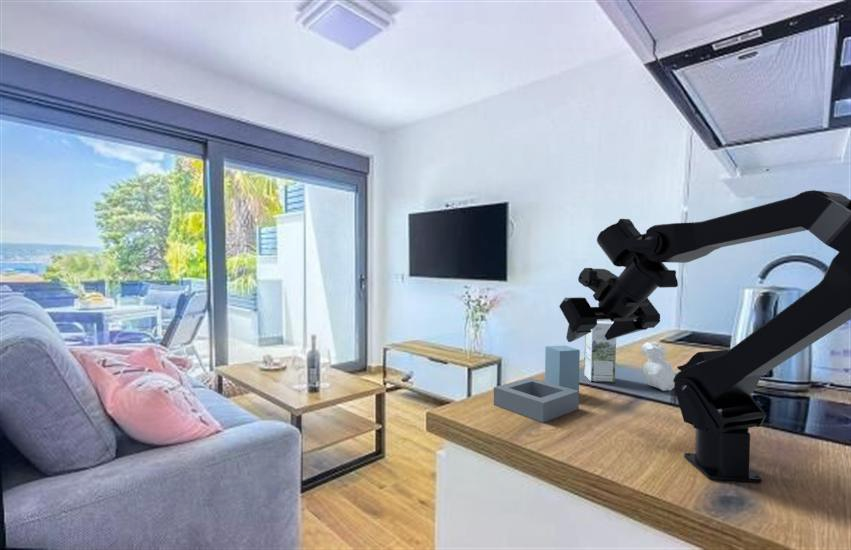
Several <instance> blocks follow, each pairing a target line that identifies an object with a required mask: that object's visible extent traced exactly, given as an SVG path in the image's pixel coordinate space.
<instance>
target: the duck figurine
mask: <svg viewBox="0 0 851 550" xmlns="http://www.w3.org/2000/svg"><path fill="white" fill-rule="evenodd" d="M640 351H641V354H642V355H643V356H647V357H648V359H647V361H646V362H645V363H643V367H642V368H643V369H642V377H643V379H644V381H645V383H646V384H647V385H648V386H650V387H654V388H657V389H660V390H661V391H663V392H664V391H669V392H671V391H672V390H673V389H675V388H674V384H675V383H674V381H673V380H674V377H675V376H676V374H675V371H674V368H673V366H672V364H671V363H670V362H669V361H668V360H666V359H665V356H666V353H667V350H666V347H663V345H660V343H657V342H656V341H652V342H648V341H646V342H645V343H644V344H643V345H642V346H641V347H640Z"/></svg>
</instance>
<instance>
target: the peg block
mask: <svg viewBox="0 0 851 550" xmlns="http://www.w3.org/2000/svg"><path fill="white" fill-rule="evenodd" d="M544 350H545V355H544V357H545V358H544V364H545V365H544V367H545V368H544V382H548V383H551V384H555V385H559V386H562V387H566V388H570V389H573V390H577V391H579V392H580V364H581V363H580V361H581V360H580V357H581V354H580V353H581V352H580V351H581V350H580V349H578V348H575V347H572V346H567V345H551V346H549V345H548V346H545V349H544Z"/></svg>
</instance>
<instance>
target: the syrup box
mask: <svg viewBox="0 0 851 550" xmlns="http://www.w3.org/2000/svg"><path fill="white" fill-rule="evenodd" d="M613 323H614V322H611V320H597V325H596V326H595V327H594V328H593V329H591V332H590V333H588V334H586V335H584V357H583V358H584V364H583V376H584V377H585V376H586V377H587V378H588V379H587V378H586V377H585V378H586V379H587V380H588V381H590V382H591V381H594V383H595V382H596V383H615V381H616V357H617V356H616V355H617V338H613V339H610V340H607V339H606V338H605V334H606V332H607V331H608V329H609V328H610V327H611V325H612V324H613Z"/></svg>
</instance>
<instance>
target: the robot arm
mask: <svg viewBox="0 0 851 550" xmlns="http://www.w3.org/2000/svg"><path fill="white" fill-rule="evenodd" d="M805 231H808V232H810V233H811V234H812V235H814V236H815V237H816V238H817V239H818V240H819V241H821V243H823V244H824V245H826V246H827V247H830V248H831V249H833V250H835V251H837V254H836V255H835V256H834V257H833V258H832V260H831V262H830V264H829V266H828V268H827V270H826V272H825V274H824V276H823V277H822V280H821V281H820V282H819V283H818V284H816V285H815V286H814V287H812V288H811V289H810V290H808V291H806V292H805V293H804V294H803V295H801V296H800V297H799V298H797V300H795V301H794V302H792V303H791V304H789V305H788V306H787V307H785V308H784V309H783V310H781V311H780V312H779V313H777V314H776V315H774V316H773V317H772V318H771V319H769V320H768V321H767V322H765V323H764V324H763V325H761V326H760V327H759V328H757V329H755V330H754V331H753V332H751V333H750V334H749V335H747V336H746V337H745V338H744V339H742V340H741V341H740V342H738V343H737V344H735V345H734V346H733V347H732V348H730V349H729V350H728V349H720V350H719V349H718V350H707V351H698V352H696V353H695V354H693V355H692V357H691V358H690V359H689V360H688V361H687V362H686V363H685V364H682V365H678V366H676V367H677V369H678V370H679V371H678V372H677V373H676V374H675V377H674V380H673V381H674V383H675V384H674V388H673V389H674V391H675V396H676V399H677V401H678V406H679V409H680V412H681V417H682V419H683V420H682V421H684V423H686V424H688V425H691V426H693V428H694V429H695V444H694V446H695V447H694V448H695V449H694V450H695V453H690V452H685V453H684V454H683V455H684V456H683V457H684V458H685V460H687V461H689V463H691V464H692V465H693V466H694V467H695V468H696V469H697V470H699V471H700V472H701V473H702V474H703V475H704V476H705V477H706V478H708V479H711V480H716V481H717V480H720V481H737V482H751V483H752V482H753V483H754V482H755V483H762V482H763V478H762V476H760V475H758V474H757V473H756V472H755V471H753V470H752V469H750V463H751V462H750V461H751V459H750V458H751V457H750V455H751V433H750V432H749V430H750V429H751V428H760V427H762V425H763V424H764V422H765V420H766V417H767V413H766V412H765V410H764V409H763V408H762V407H761V405H760V404H759V403H758V402H757V401H756V400H755V399H754V397H753V395H752V394H753V392H754V391H755V390H756V388H757V387H758V384H759V382H760V380H761V379H762V377H763V376H764V375H766V374H767V373H769V372H771V371H772V370H773V369H775V368H777V367H778V366H780V365H781V364H783V363H784V362H786V361H788V360H789V359H791V358H792V357H794V356H795V355H797V354H798V353H800V352H802V351H803V350H804V349H806V348H808V347H809V346H811V345H813V344H814V343H816V342H818V341H819V340H821V339H822V338H824V337H825V336H827V335H828V334H830V333H832V332H833V331H835V330H836V329H837V328H839V327H840V326H843V325H844V324H846V323H848V322H849V321H851V198H848V197H847V196H845V195H844V194H843V193H838V192H834V191H833V192H830V191H824V190H815V189H813V190H811V189H810V190H804V191H802V192H800V193H798V194H797V195H794V196H791V197H788V198H784V199H780V200H777V201H773V202H769V203H765V204H762V205H758V206H754V207H751V208H748V209H743V210H739V211H736V212H732V213H729V214H725V215H721V216H718V217H717V216H716V217H714V218H710V219H706V220H702V221H695V222H693V221H692V222H677V223H676V222H674V223H662V224H654V225H651V226H650V227H649V228H647V229H646V231H645V233H642V234H641V233H640V231H639V230H638V229H637V228H636V227H635V224H634V223H633V222H632V220H631V219H630V218H619V220H618V221H617V222H616V223H613V224H611V225H609V226H607V227H606V228H605V229H603V230H601V231H600V232H599V233H598V235H597V237H596V242H597V244H598V246H599V247H600V248H601V250H602V251H603V253H604V254H605V255H606V256H607V258H608V259H609V260H610V262H611V263H612V264H613V265H614V266H615V267H619V268H621V267H623V268H624V269H623V270H622V272H621V273H620V274H619V275H618V276H617V275H616V274H614V273H613V272H611V271H610V270H608V269H605V268H592V267H584V268H583V269H582V270H581V271H580V273H579V275H578V278H577V280H578V283H580V284H581V285H582V286H584V287H585V288H589V289H590V290H591V291H592V292H594V293H593V295H592V297H593V299H594V300H595V301H598V304H597V305H598V306H591V304H590V303H589V302H588V300H587V298H586V297H581V296H579V297H577V296H575V297H564V298H563V300H562V301H561V302H560V304H559V306H558V307H559V308H560V309H559V310H560V311H561V312H562V314H563V316H564V318H565V319H566V321H567V323H568V327H567V331H566V337H565V338H566V340H567V342H568V343H571V342H574V341H576V340H578V339H579V338H582V337H585V335H586V334H588V333H590V332H591V329H593V328H594V327H595V326H596V325H597V320H610V321H611V322H614V323H613V324H612V325H611V327H610V328H609V329H608V331H607V332H606V334H605V338H606V339H607V340H610V339H613V338H616V339H617V338H619V337H624V336H626V335H630V334H633V333H637V332H641V331H647V330H648V329H653V328H655V327H656V326H657V325H658V324H659V323H660V322H661V314H660V313H659V311H658V310H657V308H656V307H655V306H654V305H653V303H652V302H651V301H650V299H649V297H650V296H651V295H652V294H653V293H654V292H655V291H656V289H658V288H662V289H663V288H664V289H665V288H677V287H678V286H679V283H678V278H677V270H675V269H674V270H673V269H669V268H668V267H667V266H666V265H665V263H673V264H674V263H675V264H677V263H678V264H679V263H680V264H684V263H685V264H687V263H690V262H693V261H695V260H699V259H700V258H704V257H707V256H708V255H709V254H711V253H712V252H714V251H717V250H718V249H721V248H725V247H729V246H735V245H740V244H745V243H750V242H755V241H760V240H764V239H769V238H770V239H771V238H774V237H780V236H786V235H791V234H795V233H800V232H801V233H802V232H805ZM719 410H721V411H719Z"/></svg>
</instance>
